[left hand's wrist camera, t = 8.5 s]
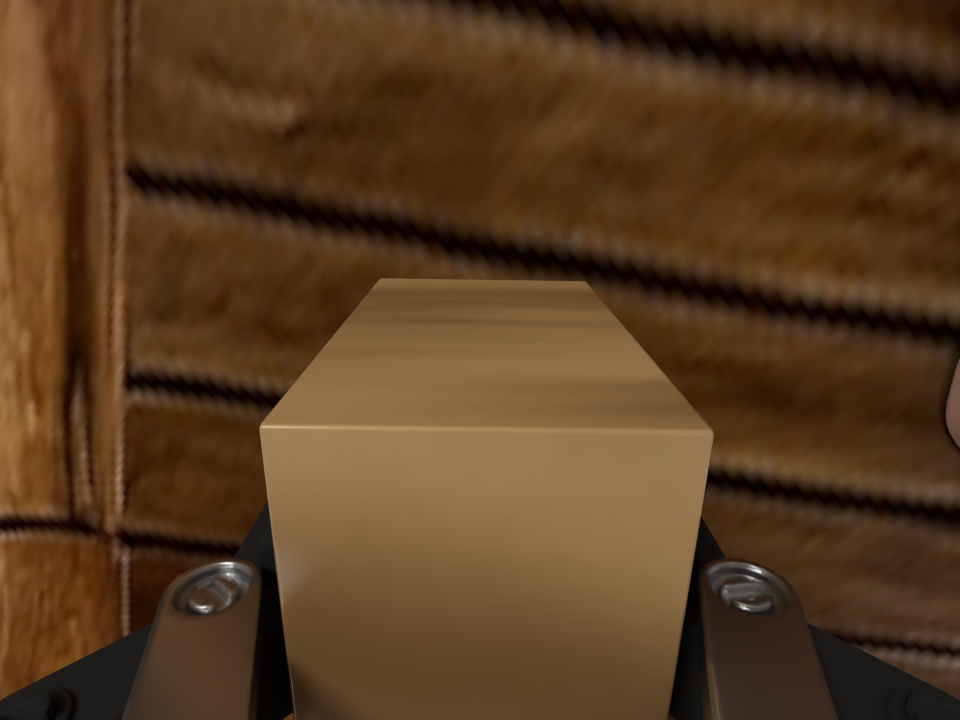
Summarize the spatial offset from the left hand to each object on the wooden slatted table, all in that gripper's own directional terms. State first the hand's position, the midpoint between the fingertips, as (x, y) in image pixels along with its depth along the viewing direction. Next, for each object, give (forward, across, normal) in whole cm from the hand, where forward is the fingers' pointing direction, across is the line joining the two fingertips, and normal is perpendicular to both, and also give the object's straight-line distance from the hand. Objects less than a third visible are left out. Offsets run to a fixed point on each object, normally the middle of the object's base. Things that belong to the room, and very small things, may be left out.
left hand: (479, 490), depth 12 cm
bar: (+2, 0, -31) cm, 31 cm away
